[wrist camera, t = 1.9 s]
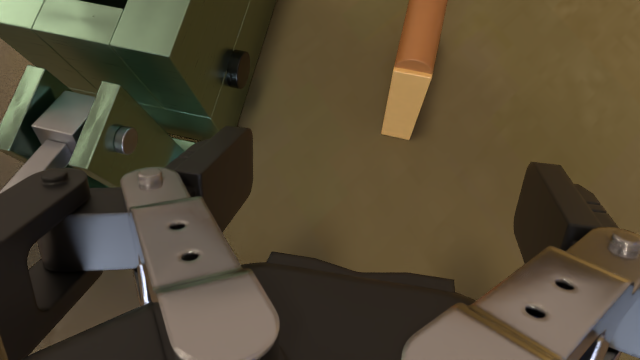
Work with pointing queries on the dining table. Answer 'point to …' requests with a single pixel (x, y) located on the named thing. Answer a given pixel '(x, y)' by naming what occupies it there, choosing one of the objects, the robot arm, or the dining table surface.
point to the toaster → (148, 52)
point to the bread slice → (413, 66)
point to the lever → (56, 134)
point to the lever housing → (90, 130)
